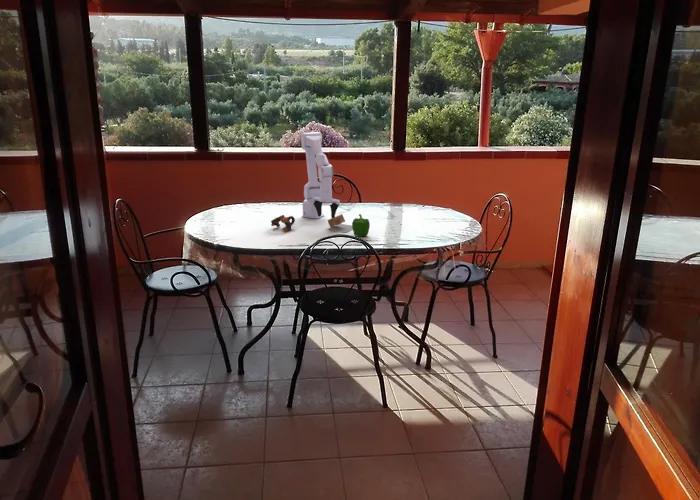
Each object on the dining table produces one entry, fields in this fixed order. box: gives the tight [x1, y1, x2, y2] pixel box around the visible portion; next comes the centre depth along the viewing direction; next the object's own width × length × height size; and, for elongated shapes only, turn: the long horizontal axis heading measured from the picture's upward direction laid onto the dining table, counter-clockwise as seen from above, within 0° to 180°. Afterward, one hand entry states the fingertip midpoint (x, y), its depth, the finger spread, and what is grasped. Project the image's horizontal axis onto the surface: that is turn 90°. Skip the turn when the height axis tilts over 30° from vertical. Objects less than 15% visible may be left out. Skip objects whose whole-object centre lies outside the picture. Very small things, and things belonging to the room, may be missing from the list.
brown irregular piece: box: [270, 214, 296, 233], centre depth 270 cm, size 12×10×8 cm
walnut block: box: [326, 213, 346, 229], centre depth 272 cm, size 4×4×7 cm
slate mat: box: [328, 223, 353, 234], centre depth 272 cm, size 10×12×1 cm
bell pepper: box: [351, 213, 371, 237], centre depth 259 cm, size 8×8×10 cm
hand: (326, 216), depth 274 cm, fingers open, 7 cm apart
